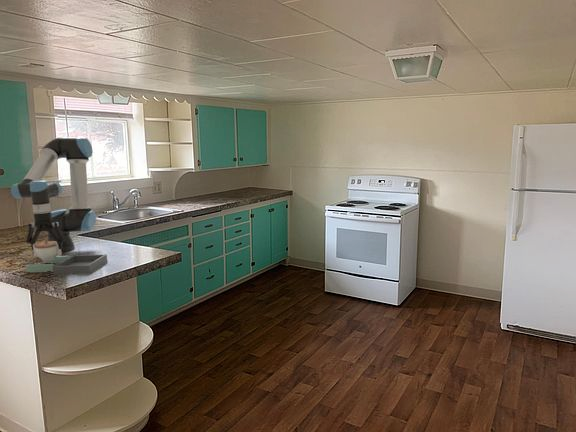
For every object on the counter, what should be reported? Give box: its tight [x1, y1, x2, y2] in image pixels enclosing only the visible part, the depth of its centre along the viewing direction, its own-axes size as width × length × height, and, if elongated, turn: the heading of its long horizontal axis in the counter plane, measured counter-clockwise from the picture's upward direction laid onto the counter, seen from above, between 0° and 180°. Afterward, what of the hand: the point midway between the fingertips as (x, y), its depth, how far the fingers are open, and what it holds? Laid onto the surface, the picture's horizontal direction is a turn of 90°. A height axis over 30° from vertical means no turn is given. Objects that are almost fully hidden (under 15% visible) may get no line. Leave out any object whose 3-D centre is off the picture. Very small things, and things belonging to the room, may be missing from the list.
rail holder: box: [25, 255, 71, 273], centre depth 222 cm, size 13×17×4 cm
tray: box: [52, 253, 108, 276], centre depth 218 cm, size 17×21×4 cm
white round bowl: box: [34, 239, 57, 261], centre depth 221 cm, size 11×11×9 cm
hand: (48, 255), depth 222 cm, fingers closed on white round bowl, 11 cm apart
